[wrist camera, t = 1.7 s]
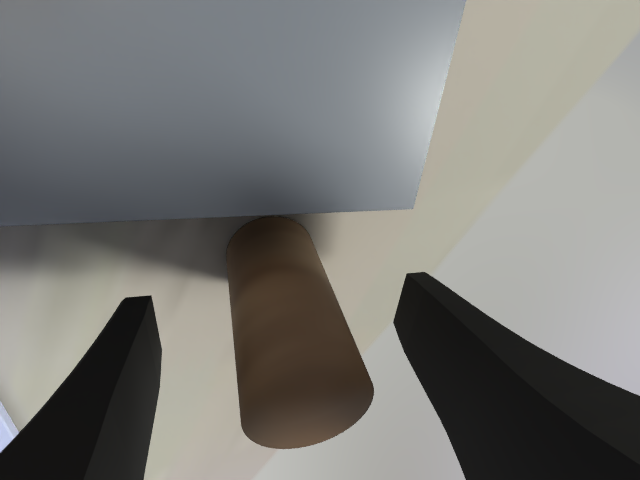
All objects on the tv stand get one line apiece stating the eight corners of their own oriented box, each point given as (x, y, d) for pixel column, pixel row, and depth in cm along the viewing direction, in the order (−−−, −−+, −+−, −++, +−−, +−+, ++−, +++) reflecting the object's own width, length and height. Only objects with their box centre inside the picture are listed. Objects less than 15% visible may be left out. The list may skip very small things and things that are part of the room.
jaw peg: (227, 291, 14) (242, 459, 9) (224, 218, 12) (239, 376, 7) (309, 283, 14) (363, 434, 10) (316, 214, 13) (385, 354, 8)
